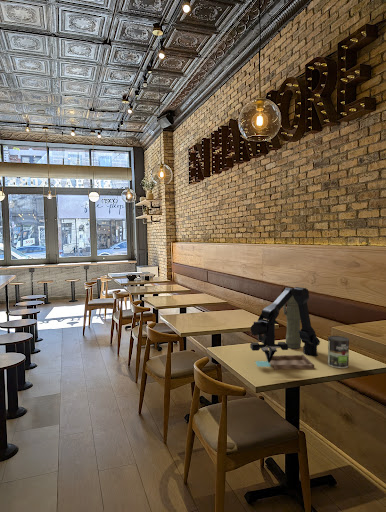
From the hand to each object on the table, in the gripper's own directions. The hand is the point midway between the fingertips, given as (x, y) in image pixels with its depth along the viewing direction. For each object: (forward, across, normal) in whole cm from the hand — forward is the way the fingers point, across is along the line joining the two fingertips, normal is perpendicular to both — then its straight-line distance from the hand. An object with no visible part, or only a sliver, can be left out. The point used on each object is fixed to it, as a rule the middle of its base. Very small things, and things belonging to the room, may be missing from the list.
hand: (268, 362), depth 196 cm
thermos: (+2, -23, -31) cm, 39 cm away
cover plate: (+2, +3, -1) cm, 4 cm away
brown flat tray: (+2, -11, 0) cm, 11 cm away
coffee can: (+2, -36, +2) cm, 36 cm away
